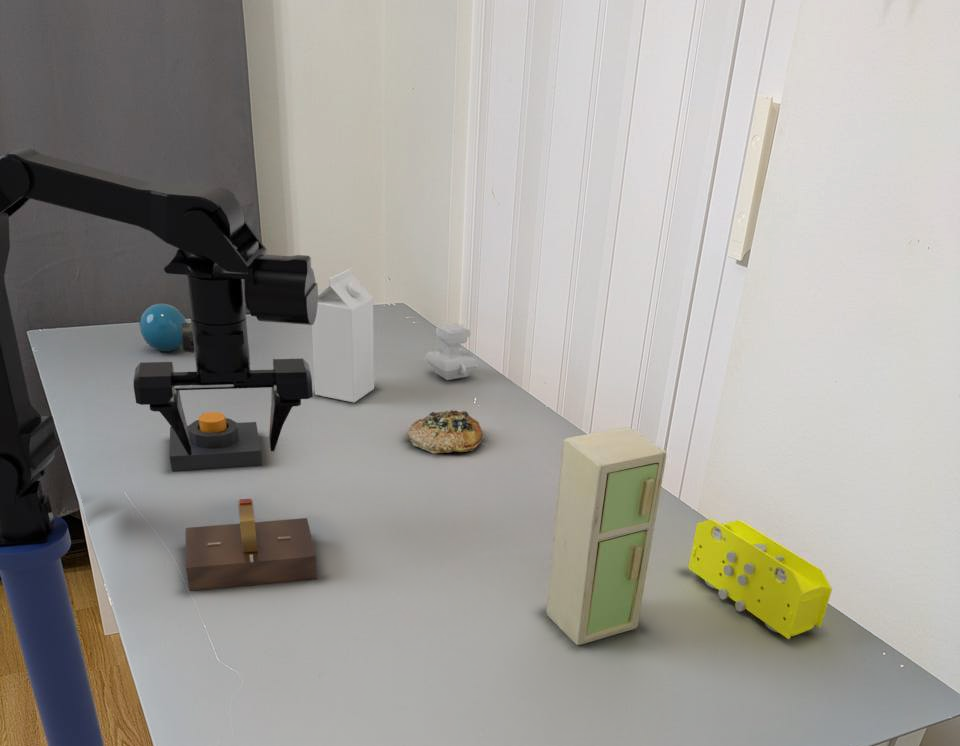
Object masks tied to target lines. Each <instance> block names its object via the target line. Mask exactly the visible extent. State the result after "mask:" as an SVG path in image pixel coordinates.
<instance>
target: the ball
mask: <svg viewBox="0 0 960 746" xmlns="http://www.w3.org/2000/svg"><path fill="white" fill-rule="evenodd" d="M139 319H140V320H139V331H140V334H141V336H142V338H143V340H144V341H145V342H146V344H148V346H149V347H151V348H153V349H155V350H157V351H160V352H172V351H175V350H177V349H179V348H180V347H182V346H183V345H182V334H181V323H188V322H187V320H186V318H185V316H184V314H183V313H182V312H181V311H180V310H179V309H178V308H177V307H175V306H173V305H171V304H168V303H154V304H153V305H150V306H149V307H147V308H146V309H145V311H144V312H143V313H142V315H141V317H140V318H139Z"/></svg>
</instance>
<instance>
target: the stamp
mask: <svg viewBox="0 0 960 746" xmlns="http://www.w3.org/2000/svg"><path fill="white" fill-rule="evenodd" d="M435 336H437V338H438V340H439V341H441V342H443V343H444V348H443V349H437V350H430V351H428V352H427V353H426V355H425V360H426V362H427V363H428V365H429V366H430V368H431V369H432V371H433V372H434V373H435V374H437V375H438V376H440V377H441V378H443V379H444V380H445V381H450V380H451V381H452V380H456V379H463V378H467V377H470V375H471V374H472V373H473V372H474V371H475V370H476V369H477V368H478V366H479V362H478V359H477V358H476V357H474V356H473V355H472V354H470V353H468V352H467V351H465V350H463V349H462V348H460V346H461V344H465V343H467V342H468V339H469V338H471V329H470V328H468V327H466V326H464V325H462V324H460V323H459V322H456V323H450V324H446V325H440V326H436V329H435Z"/></svg>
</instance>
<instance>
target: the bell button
mask: <svg viewBox="0 0 960 746" xmlns="http://www.w3.org/2000/svg"><path fill="white" fill-rule="evenodd" d="M226 418H227V417H226V414H224V413H222V412H218V411H217V412H216V411H210V412H204V413H202V414H200V415H199V416H198V420H199V425H200V430H201V431H202V432H208V433H213V432H220V431H224V430H226V429H227V425H226Z"/></svg>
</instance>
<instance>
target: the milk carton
mask: <svg viewBox="0 0 960 746" xmlns="http://www.w3.org/2000/svg"><path fill="white" fill-rule="evenodd" d="M311 338H312V339H311V340H312V357H313V376H314V394H315V395H316V396H320V397H324V398H330V399H334V400H340V401H343V402H344V401H345V402H347V403H348V402H349V403H356V402H357V401H359V400H360V399H362V398H363V397H365V396H366V395H368V394H370V393H371V392H372V391H373V390H374V389H375V359H374V358H375V350H374V348H375V346H374V345H375V343H374V297H373V296H372V295H371V294H370V292H369V291H368V289H366V288H365V287H364V286H363V284H362V283H361V282H360V281H359V280H358V278H357V277H356V276H355V275H354V268H353V267H350V268H348V269H347V270H344V271H342V272H340V273H338V274H336V275H333V276H331V277H329V278H328V286H327V287H326V288H325V289H324V290H322V291H321V292H320V293H318V304H317V313H316V318H315V322H314V324H313V325H311Z"/></svg>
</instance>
